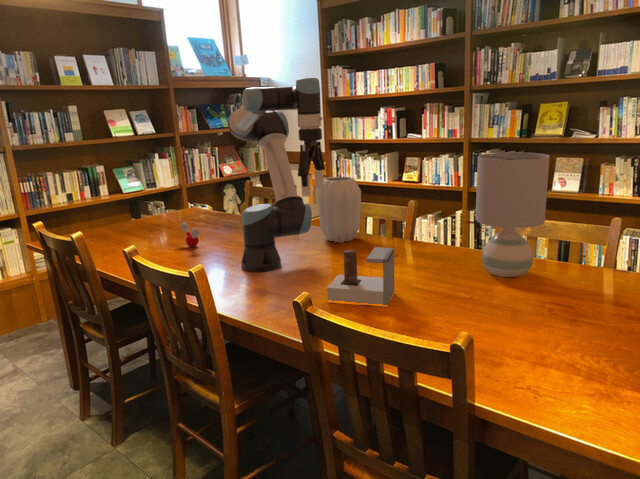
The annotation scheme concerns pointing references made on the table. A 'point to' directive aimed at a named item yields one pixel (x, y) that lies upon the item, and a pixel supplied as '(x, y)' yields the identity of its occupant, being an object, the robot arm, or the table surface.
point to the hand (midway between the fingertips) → (313, 192)
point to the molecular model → (190, 235)
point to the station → (367, 282)
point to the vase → (339, 208)
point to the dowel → (350, 267)
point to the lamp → (510, 207)
